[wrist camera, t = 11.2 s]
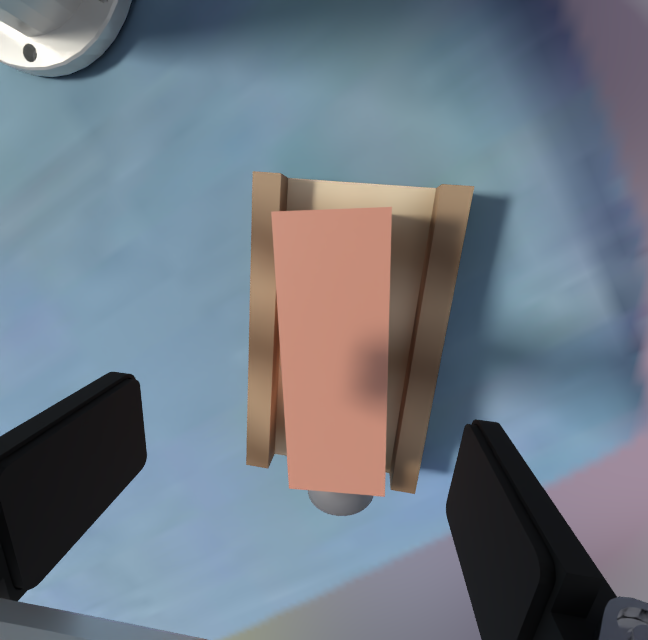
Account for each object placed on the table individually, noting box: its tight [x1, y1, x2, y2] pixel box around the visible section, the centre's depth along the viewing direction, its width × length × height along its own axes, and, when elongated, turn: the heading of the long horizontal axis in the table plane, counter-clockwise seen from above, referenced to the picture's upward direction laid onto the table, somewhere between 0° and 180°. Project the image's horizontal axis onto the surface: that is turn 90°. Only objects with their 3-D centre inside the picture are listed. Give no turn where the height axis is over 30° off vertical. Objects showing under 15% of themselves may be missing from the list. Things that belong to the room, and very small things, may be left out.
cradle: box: [246, 172, 474, 494], centre depth 20 cm, size 18×11×2 cm, turn 175°
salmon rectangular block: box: [271, 207, 392, 516], centre depth 18 cm, size 16×5×5 cm, turn 2°
